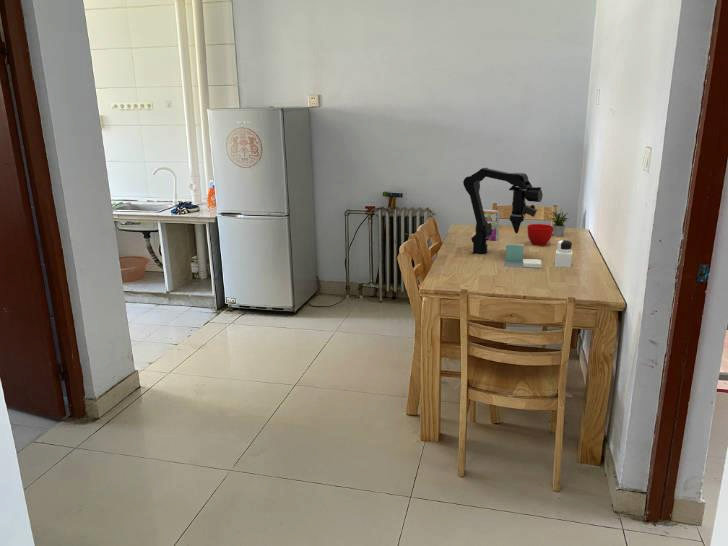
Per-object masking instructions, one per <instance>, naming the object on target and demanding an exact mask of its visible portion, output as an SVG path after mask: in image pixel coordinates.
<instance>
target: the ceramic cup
mask: <svg viewBox="0 0 728 546" xmlns="http://www.w3.org/2000/svg"><path fill="white" fill-rule="evenodd" d="M552 236H553V226H552V224H551V225H550V224H546V223H544V224H543V223H532V224H527V237H528V240H529V241H530V243H531V245H533V246H535V245H537V246H536V247H544V246H546V245H547V244H548V243H549V242H550V240H551V239H552Z"/></svg>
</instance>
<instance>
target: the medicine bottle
mask: <svg viewBox="0 0 728 546" xmlns="http://www.w3.org/2000/svg"><path fill="white" fill-rule="evenodd" d="M572 245H573V244H572V241H569V240H566V239H564V240H563V239H561V240H558V241H557V247H556V248H557V249H555V255H554V256H555V257H554V267H555V268H558V267H559V268H566V269H567V268H568V269H569V268H570V269H571V268H572V260H573V250H572Z"/></svg>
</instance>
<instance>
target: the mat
mask: <svg viewBox="0 0 728 546" xmlns="http://www.w3.org/2000/svg"><path fill="white" fill-rule="evenodd" d="M503 267H505V268H506V267H507V268H518V269H519V268H520V269H525V268H524V267H523V262H512V261H505V260H504V264H503ZM530 269H532V270H533V269H534V270H535V269H536V270H540V269H541V268H530Z"/></svg>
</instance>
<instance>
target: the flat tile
mask: <svg viewBox="0 0 728 546" xmlns="http://www.w3.org/2000/svg"><path fill="white" fill-rule="evenodd" d="M542 266H543V265H542V260H541V259H536V258H535V259H531V258H523V267H524V268H523V269H531V268H540V269H542Z"/></svg>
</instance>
